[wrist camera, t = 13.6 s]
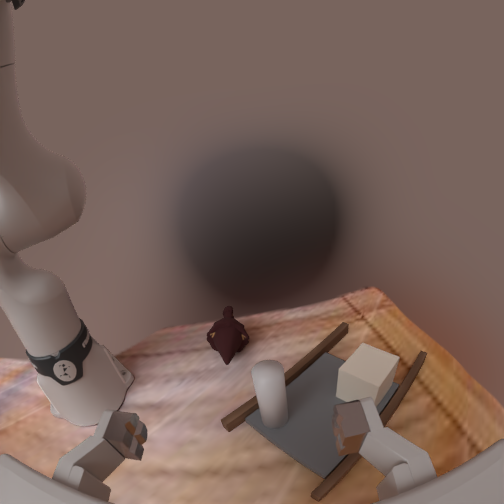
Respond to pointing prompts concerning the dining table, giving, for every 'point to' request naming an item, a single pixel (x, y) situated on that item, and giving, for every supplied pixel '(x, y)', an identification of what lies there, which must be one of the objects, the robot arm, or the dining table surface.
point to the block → (366, 374)
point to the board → (302, 411)
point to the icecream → (227, 336)
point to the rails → (325, 346)
